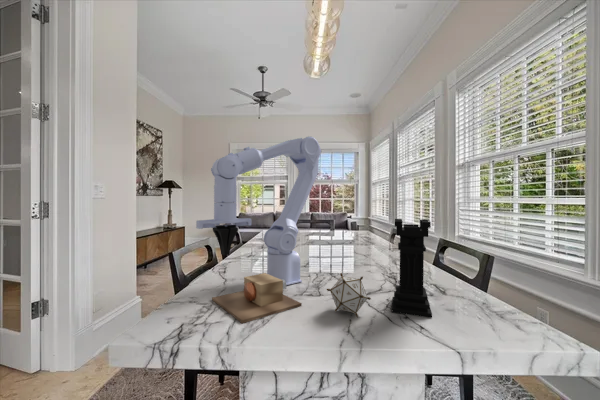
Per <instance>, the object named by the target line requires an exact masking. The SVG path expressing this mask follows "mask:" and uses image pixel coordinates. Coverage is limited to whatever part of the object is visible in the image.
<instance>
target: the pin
mask: <svg viewBox="0 0 600 400" xmlns="http://www.w3.org/2000/svg"><path fill="white" fill-rule="evenodd" d="M281 280H283V290H285V289H286V288H287V285H286V282H285V280H284V279H281ZM243 291H244V295H245V298H246V299H247V301H253V300H255V298H256V288H255V285H254V284H253V283H252V282H248V283H246V284H245V285H244V284H243Z"/></svg>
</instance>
